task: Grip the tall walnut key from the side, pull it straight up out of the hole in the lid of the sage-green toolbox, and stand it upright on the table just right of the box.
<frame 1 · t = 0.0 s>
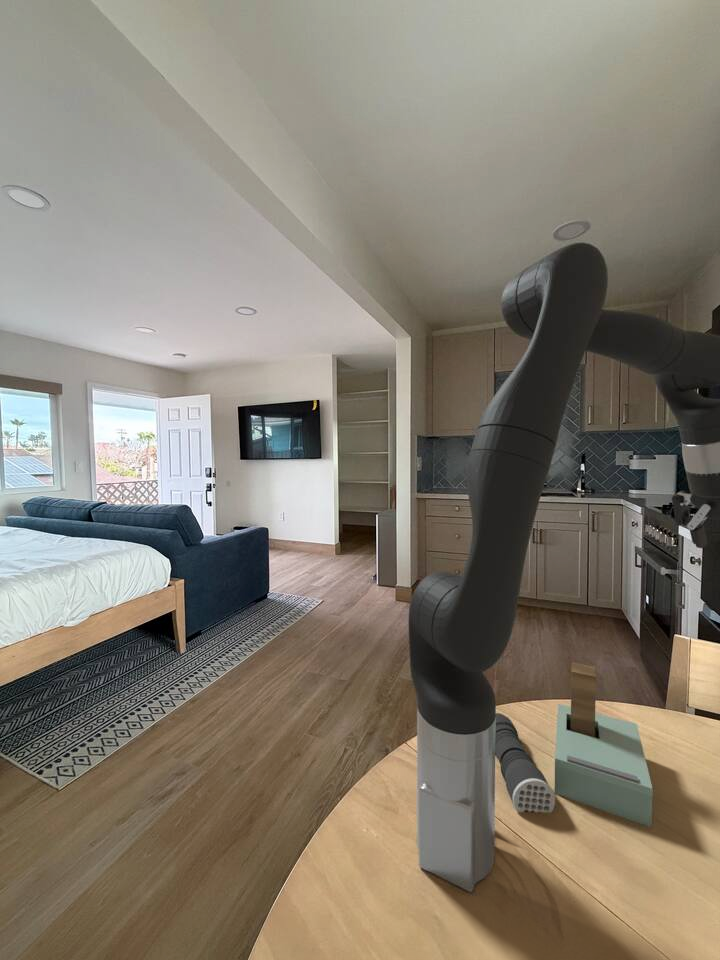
wooden key: (581, 756, 62), point 1 cm above the table, touching toolbox
flashlight: (513, 778, 59), on the table
toolbox: (597, 779, 59), on the table
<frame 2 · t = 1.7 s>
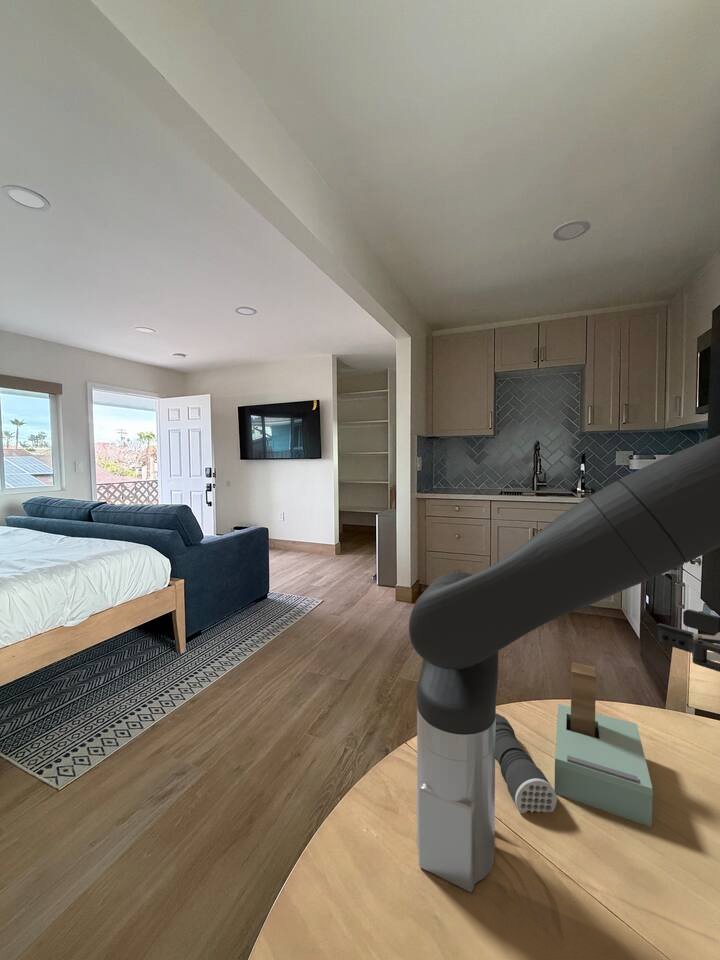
hand: (670, 624, 51), 26 cm above the table, fingers open, 8 cm apart
nothing on the table moved.
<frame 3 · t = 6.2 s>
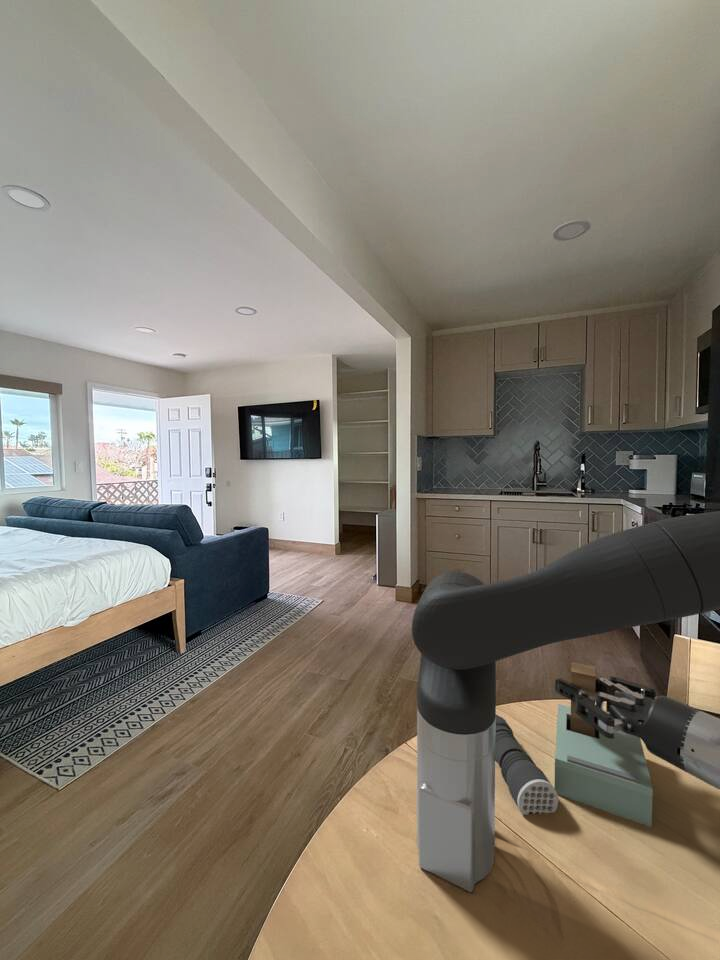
hand: (566, 680, 64), 12 cm above the table, fingers closed on wooden key, 4 cm apart
wooden key: (581, 756, 62), point 1 cm above the table, touching gripper, toolbox
everything else where it was.
when the fingers open (12 cm above the table, at t = 13.3 s): wooden key drops 1 cm, on the table.
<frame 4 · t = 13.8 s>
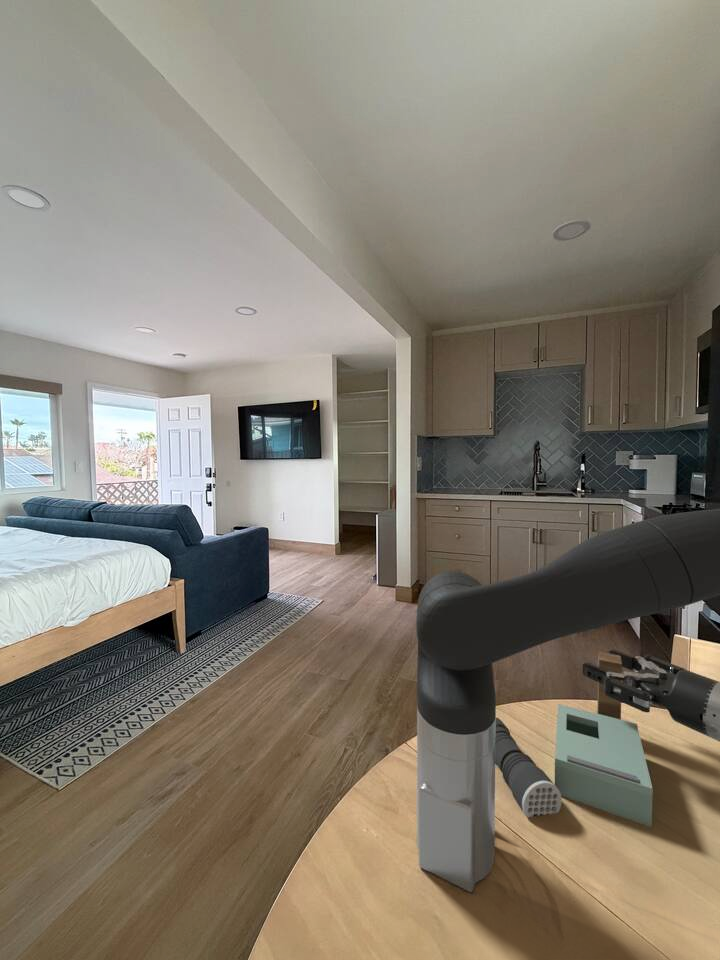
hand: (597, 661, 68), 13 cm above the table, fingers open, 8 cm apart
wooden key: (608, 738, 67), on the table
everything else where it was.
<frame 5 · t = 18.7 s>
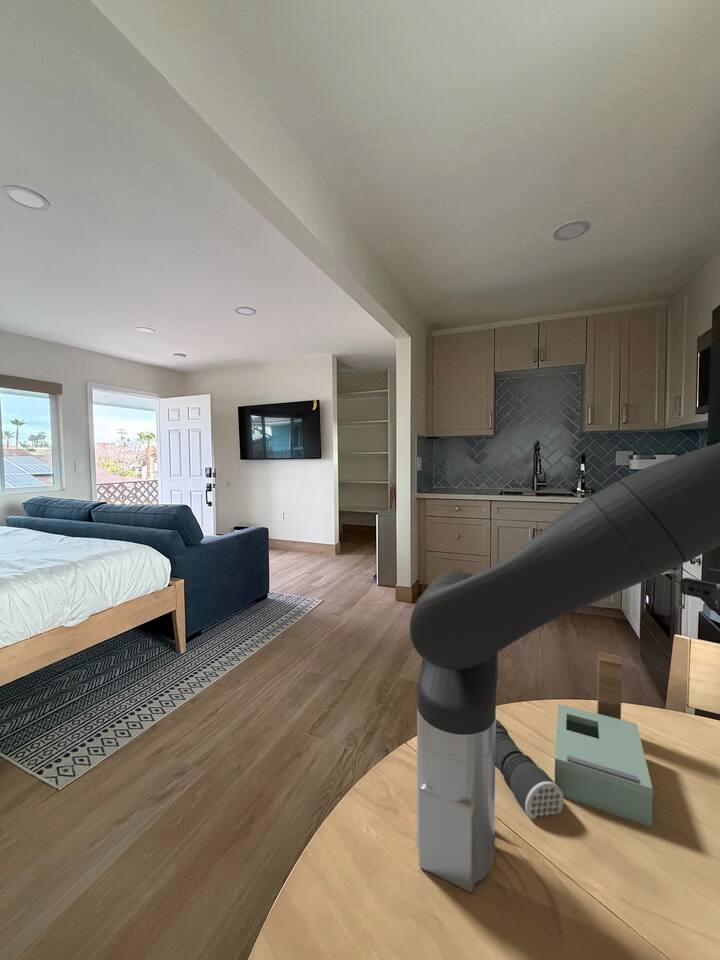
hand: (694, 580, 57), 30 cm above the table, fingers open, 8 cm apart
at the end: wooden key 0.1 cm from the target spot, on the table; wooden key tilted 0°; the gripper is holding nothing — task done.
